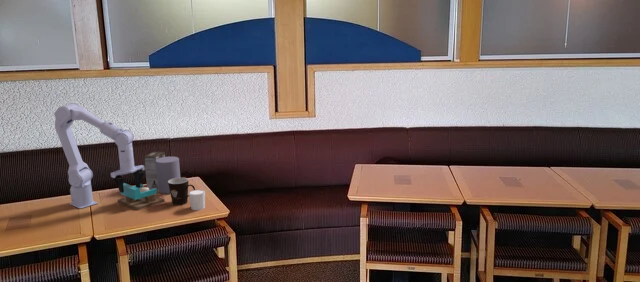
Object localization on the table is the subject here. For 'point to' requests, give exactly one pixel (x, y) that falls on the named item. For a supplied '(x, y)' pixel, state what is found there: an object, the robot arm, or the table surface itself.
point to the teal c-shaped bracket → (136, 191)
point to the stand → (141, 200)
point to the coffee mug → (179, 190)
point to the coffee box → (152, 169)
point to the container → (166, 172)
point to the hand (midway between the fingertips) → (129, 189)
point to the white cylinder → (197, 199)
